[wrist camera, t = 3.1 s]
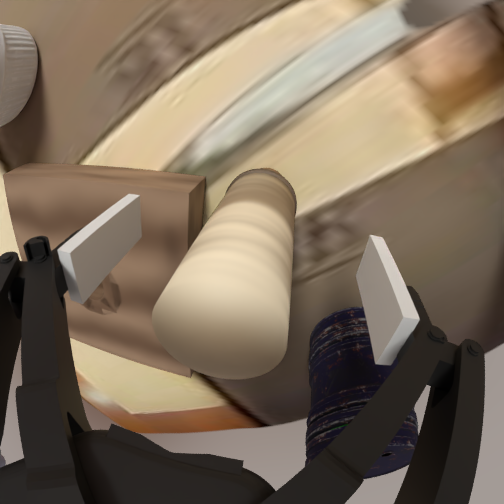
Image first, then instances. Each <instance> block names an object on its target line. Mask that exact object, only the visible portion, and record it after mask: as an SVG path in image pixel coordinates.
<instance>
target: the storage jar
mask: <svg viewBox="0 0 504 504" xmlns="http://www.w3.org/2000/svg"><path fill="white" fill-rule="evenodd" d="M397 364H398V359H397V357H396V358H395V360H394V361H393V363H392V364H391V365H379V364H375V360H374V354H373V349H372V344H371V339H370V334H369V330H368V325H367V320H366V316H365V312H364V307H352V308H347V309H343V310H340V311H337V312H334V313H332V314H330V315H329V316H327V317H325V318H324V319H323V320H321V321H320V322H319V323H318V324H317V325H316V327H315V328H314V330H313V331H312V334H311V337H310V354H309V383H310V386H311V388H312V390H311V410H310V412H309V414H308V419H307V427H308V428H307V432H306V457H307V459H306V461H305V466H307V465H308V464H309V463H310V462H311V461H312V460H313V459H314V458H315V457H316V456H317V455H318V454H319V453H321V452H322V451H323V450H324V449H325V448H326V447H327V446H328V445H329V444H330V443H331V442H332V441H333V440H334V439H335V438H336V437H337V436H338V435H339V434H340V433H341V432H342V431H343V430H344V429H345V427H346V426H347V425H348V424H349V423H350V422H351V421H352V420H353V419H354V418H355V417H356V415H357V414H358V413H359V412H360V411H361V410H362V409H363V407H364V406H365V405H366V404H367V403H368V401H369V400H370V399H371V398H372V397H373V395H374V394H375V393H376V392H377V391H378V389H379V388H380V387H381V386H382V384H383V383H384V382H385V380H386V379H387V378H388V377H389V375H390V374H391V373H392V371H393V370H394V369H395V367H396V366H397ZM414 406H415V405H414ZM417 440H418V422H417V416H416V413H415V411H414V407H413V409H412V410H411V412H410V413H409V415H408V417H407V418H406V420H405V421H404V423H403V424H402V426H401V427H400V429H399V430H398V432H397V433H396V435H395V436H394V438H393V439H392V440H391V442H390V443H389V445H388V446H387V447H386V449H385V450H384V451H383V453H382V454H381V455H380V457H379V458H378V459H377V460H376V462H375V463H374V464H373V466H372V467H371V468H370V469H369V470H368V472H367V473H366V474H365V476H364V477H363V479H367V478H372V477H377V476H381V475H384V474H388V473H391V472H394V471H396V470H399V469H401V468H403V467H405V466H407V465H409V464H410V462H411V459H412V456H413V453H414V450H415V446H416V443H417Z"/></svg>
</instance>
